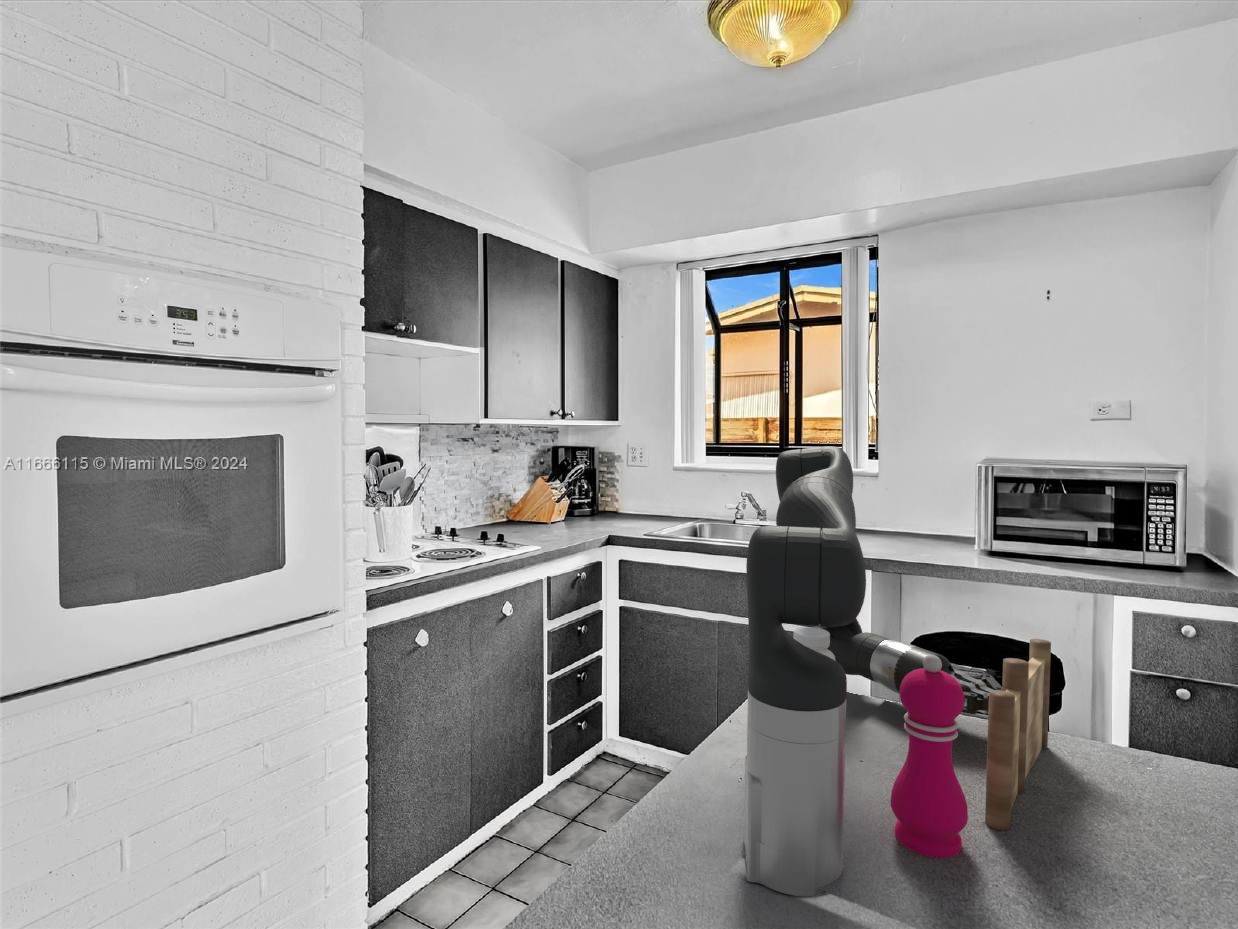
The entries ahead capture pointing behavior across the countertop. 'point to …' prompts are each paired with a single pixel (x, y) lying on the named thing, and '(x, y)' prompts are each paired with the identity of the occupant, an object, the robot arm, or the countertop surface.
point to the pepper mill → (930, 764)
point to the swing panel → (1037, 700)
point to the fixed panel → (1006, 743)
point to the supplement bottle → (814, 639)
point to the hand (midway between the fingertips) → (1021, 714)
